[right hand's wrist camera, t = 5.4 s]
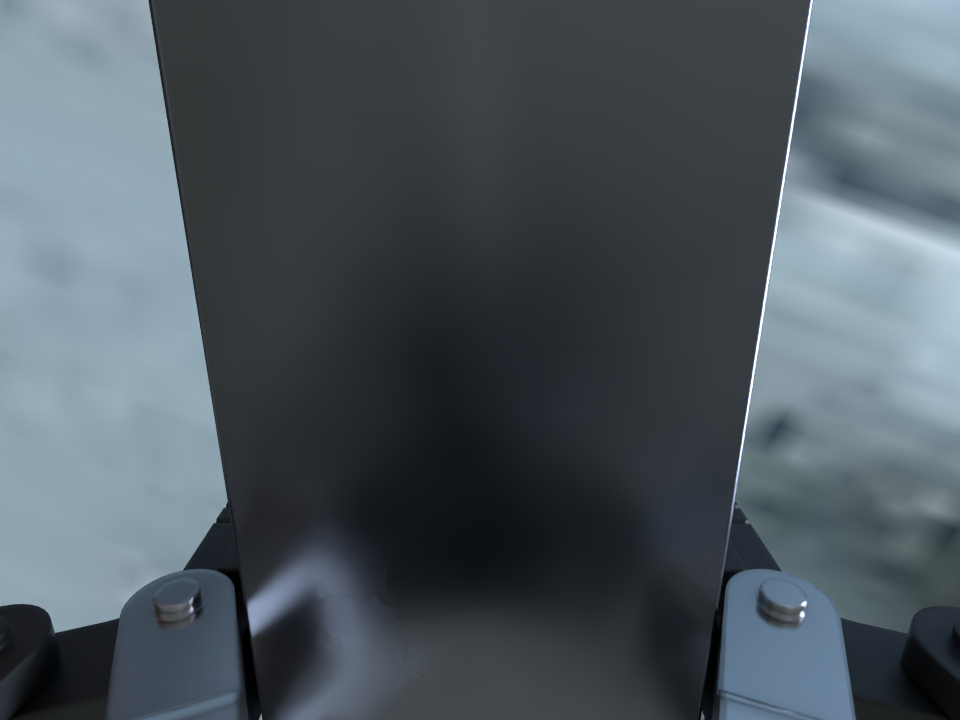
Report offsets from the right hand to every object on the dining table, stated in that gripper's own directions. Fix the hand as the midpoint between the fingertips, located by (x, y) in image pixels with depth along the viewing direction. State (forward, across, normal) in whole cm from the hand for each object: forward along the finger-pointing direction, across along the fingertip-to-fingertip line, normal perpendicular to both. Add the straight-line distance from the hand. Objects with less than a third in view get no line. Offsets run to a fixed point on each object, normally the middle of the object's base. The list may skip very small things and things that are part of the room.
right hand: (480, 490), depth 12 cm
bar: (+4, 0, -8) cm, 9 cm away
